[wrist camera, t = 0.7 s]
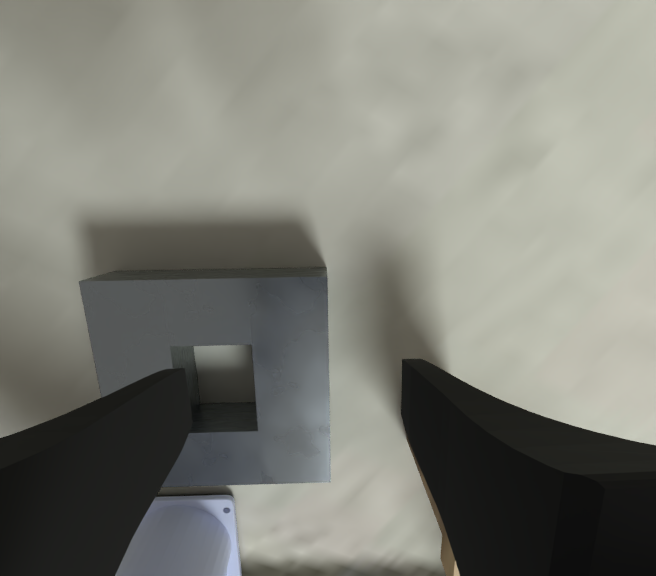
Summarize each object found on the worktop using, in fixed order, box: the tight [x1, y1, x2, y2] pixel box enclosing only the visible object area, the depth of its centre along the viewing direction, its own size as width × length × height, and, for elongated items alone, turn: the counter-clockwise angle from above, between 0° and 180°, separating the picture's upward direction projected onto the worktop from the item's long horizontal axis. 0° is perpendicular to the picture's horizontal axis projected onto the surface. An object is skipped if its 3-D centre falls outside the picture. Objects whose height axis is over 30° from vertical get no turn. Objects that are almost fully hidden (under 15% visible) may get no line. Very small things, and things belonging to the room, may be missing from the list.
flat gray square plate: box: [79, 267, 331, 487], centre depth 20 cm, size 13×13×3 cm
